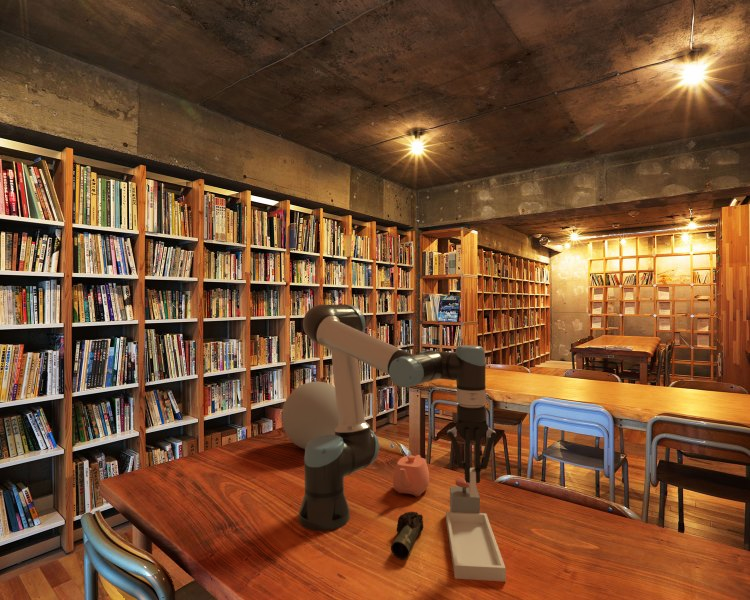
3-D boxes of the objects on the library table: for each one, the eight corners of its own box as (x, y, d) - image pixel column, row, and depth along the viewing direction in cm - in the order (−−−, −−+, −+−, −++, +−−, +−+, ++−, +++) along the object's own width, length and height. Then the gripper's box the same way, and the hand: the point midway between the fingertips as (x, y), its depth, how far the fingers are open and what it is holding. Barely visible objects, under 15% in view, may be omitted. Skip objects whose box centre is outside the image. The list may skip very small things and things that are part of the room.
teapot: (403, 478, 156) (403, 445, 156) (434, 483, 152) (434, 450, 152) (384, 501, 138) (384, 464, 138) (419, 508, 133) (418, 470, 133)
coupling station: (454, 580, 98) (454, 532, 98) (444, 512, 130) (444, 475, 130) (505, 583, 97) (505, 534, 97) (482, 513, 129) (482, 477, 129)
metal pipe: (408, 562, 104) (409, 539, 104) (383, 556, 106) (383, 533, 106) (426, 529, 120) (426, 509, 120) (403, 524, 123) (404, 504, 123)
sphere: (271, 458, 177) (271, 387, 177) (296, 436, 206) (295, 375, 207) (340, 462, 172) (340, 389, 172) (355, 439, 201) (355, 377, 202)
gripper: (447, 407, 107) (448, 500, 107) (499, 408, 106) (500, 502, 106) (445, 401, 115) (446, 487, 114) (493, 401, 114) (495, 489, 113)
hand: (472, 494), depth 110 cm, fingers closed
